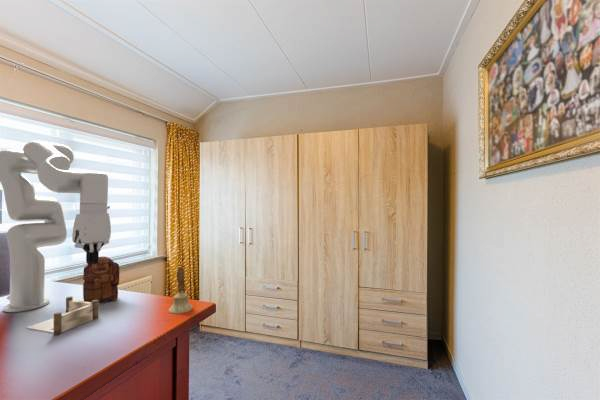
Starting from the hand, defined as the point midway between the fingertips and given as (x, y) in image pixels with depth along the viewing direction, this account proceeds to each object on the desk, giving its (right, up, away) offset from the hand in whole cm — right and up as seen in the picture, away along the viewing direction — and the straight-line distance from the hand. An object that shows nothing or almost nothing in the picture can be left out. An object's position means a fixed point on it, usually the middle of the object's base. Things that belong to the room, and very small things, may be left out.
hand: (92, 263), depth 95 cm
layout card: (-10, -20, -2) cm, 22 cm away
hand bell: (+25, -20, +11) cm, 34 cm away
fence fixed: (-7, -19, +4) cm, 21 cm away
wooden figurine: (-10, -20, +18) cm, 29 cm away
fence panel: (-3, -19, -4) cm, 20 cm away
